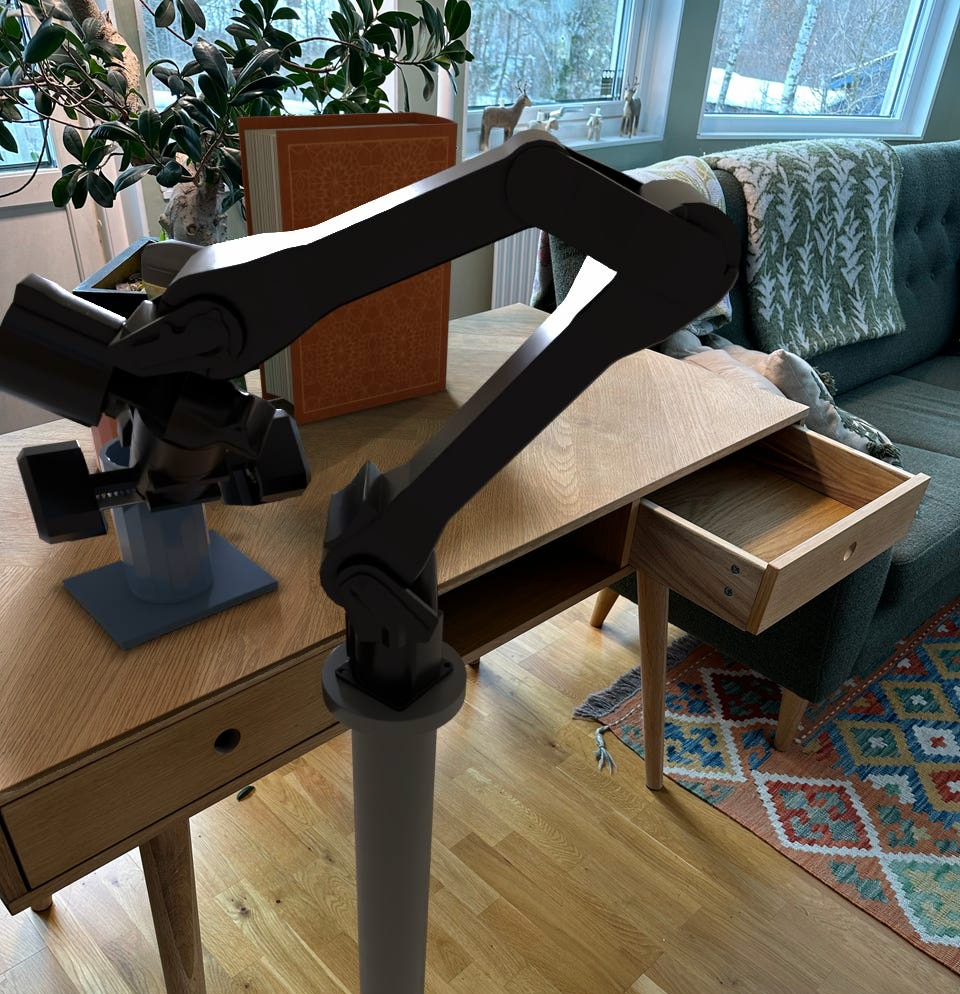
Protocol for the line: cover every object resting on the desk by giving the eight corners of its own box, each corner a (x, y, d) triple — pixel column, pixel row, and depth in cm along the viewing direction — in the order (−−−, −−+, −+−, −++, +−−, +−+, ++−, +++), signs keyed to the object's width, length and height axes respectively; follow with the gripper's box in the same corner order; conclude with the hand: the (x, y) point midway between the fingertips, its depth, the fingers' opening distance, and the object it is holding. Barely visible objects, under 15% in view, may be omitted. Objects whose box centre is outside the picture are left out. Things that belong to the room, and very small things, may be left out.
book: (296, 425, 102) (276, 130, 84) (262, 401, 107) (237, 117, 89) (452, 388, 114) (465, 123, 96) (415, 367, 119) (421, 111, 101)
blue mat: (213, 535, 82) (212, 528, 82) (278, 588, 76) (278, 580, 76) (63, 587, 74) (61, 579, 74) (123, 651, 68) (122, 642, 68)
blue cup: (231, 578, 75) (215, 449, 68) (163, 614, 71) (138, 480, 63) (178, 549, 78) (156, 422, 71) (109, 582, 74) (79, 450, 67)
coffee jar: (261, 411, 105) (246, 245, 94) (215, 433, 99) (194, 260, 88) (199, 391, 108) (177, 229, 97) (151, 412, 102) (122, 242, 91)
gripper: (287, 300, 59) (250, 396, 73) (-20, 328, 51) (5, 430, 66) (335, 455, 59) (289, 522, 73) (33, 508, 51) (47, 572, 65)
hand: (164, 509), depth 69 cm, fingers open, 9 cm apart
